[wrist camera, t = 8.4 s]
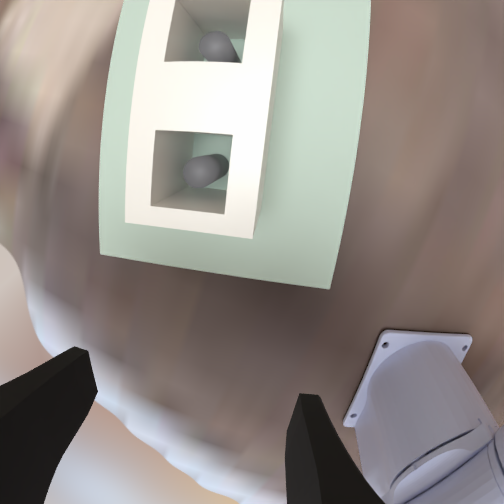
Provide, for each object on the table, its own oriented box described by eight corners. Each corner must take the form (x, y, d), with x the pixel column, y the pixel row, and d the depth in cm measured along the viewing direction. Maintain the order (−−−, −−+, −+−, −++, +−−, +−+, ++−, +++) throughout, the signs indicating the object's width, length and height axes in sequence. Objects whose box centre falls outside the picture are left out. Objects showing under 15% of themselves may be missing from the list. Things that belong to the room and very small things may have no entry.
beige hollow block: (261, 208, 15) (252, 239, 10) (169, 197, 15) (125, 222, 11) (283, 30, 12) (284, -17, 7) (189, 26, 12) (153, -15, 8)
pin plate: (326, 277, 18) (340, 325, 13) (112, 245, 18) (66, 278, 13) (364, 5, 12) (390, -35, 7) (138, -6, 13) (99, -40, 8)
